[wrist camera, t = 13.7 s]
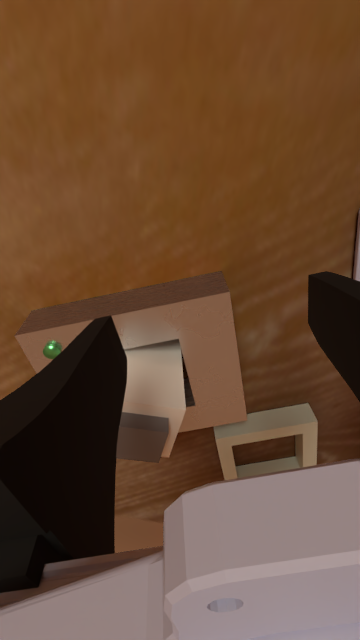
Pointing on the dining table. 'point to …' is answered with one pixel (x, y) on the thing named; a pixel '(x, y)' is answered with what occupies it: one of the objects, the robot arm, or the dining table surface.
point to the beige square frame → (269, 427)
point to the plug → (152, 402)
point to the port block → (159, 338)
